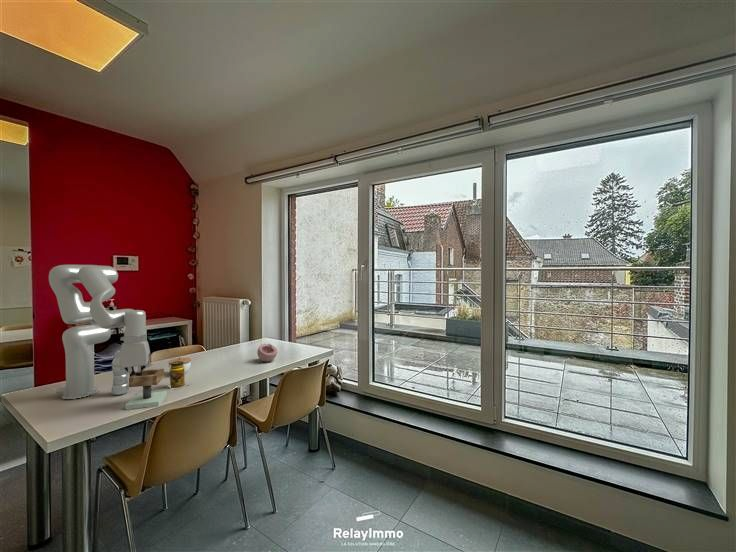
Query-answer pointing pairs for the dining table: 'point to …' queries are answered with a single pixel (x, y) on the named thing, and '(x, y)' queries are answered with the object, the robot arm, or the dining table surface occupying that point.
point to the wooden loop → (147, 378)
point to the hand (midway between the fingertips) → (135, 381)
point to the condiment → (177, 375)
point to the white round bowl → (185, 362)
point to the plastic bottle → (119, 377)
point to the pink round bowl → (266, 352)
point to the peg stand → (146, 399)
